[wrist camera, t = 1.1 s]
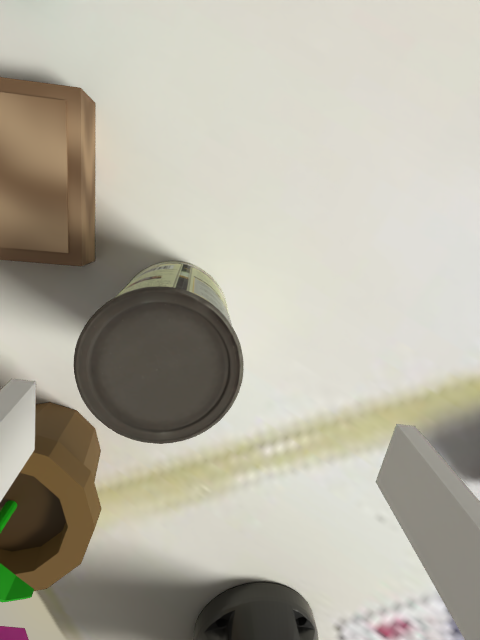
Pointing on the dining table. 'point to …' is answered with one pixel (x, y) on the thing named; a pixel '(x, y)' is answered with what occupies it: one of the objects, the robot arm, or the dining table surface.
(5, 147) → the walnut base
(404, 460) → the robot arm
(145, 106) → the dining table surface
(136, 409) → the coffee can
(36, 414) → the flowerpot
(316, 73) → the dining table surface
